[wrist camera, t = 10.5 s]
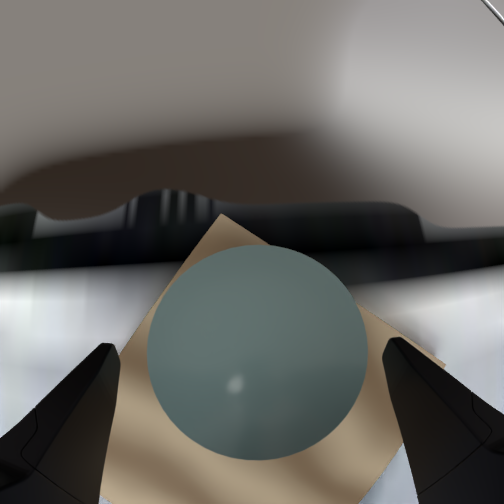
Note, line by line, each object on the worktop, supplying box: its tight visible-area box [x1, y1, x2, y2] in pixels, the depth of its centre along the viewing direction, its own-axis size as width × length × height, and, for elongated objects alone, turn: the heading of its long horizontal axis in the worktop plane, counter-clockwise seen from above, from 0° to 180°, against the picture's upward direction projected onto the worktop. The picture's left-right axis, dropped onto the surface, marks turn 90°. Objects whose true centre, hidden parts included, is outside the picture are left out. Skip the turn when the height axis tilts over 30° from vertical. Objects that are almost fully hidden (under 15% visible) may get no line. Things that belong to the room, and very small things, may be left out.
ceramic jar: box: [147, 245, 368, 460], centre depth 12 cm, size 6×6×10 cm
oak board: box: [100, 214, 446, 504], centre depth 16 cm, size 20×18×2 cm
